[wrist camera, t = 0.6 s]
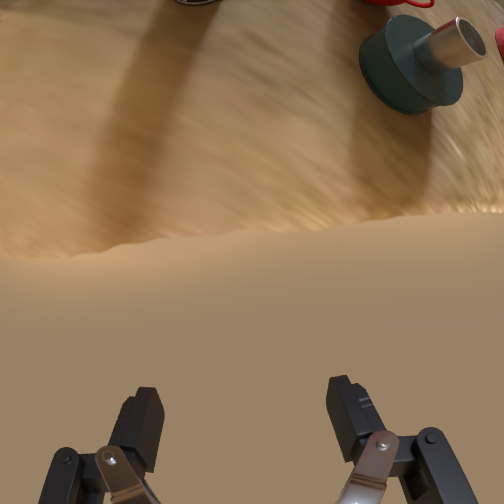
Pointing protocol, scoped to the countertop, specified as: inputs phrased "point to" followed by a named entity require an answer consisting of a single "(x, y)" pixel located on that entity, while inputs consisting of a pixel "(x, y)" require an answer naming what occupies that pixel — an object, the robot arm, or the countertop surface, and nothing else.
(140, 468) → the robot arm
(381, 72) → the squat teal canister
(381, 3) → the ceramic cup
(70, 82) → the countertop surface
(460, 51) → the silver cup
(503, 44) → the stand mixer
